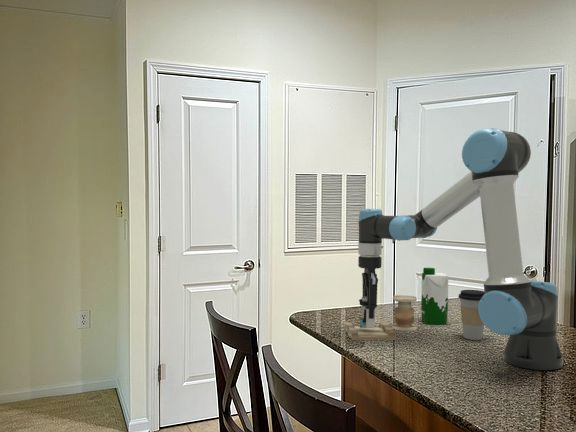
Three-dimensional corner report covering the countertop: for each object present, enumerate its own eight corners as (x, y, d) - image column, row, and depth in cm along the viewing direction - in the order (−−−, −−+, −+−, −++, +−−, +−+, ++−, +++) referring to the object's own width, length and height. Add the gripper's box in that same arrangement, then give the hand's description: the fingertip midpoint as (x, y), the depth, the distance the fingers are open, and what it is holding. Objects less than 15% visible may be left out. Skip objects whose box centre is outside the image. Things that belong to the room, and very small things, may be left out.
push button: (378, 325, 184) (379, 296, 183) (379, 329, 178) (379, 299, 178) (358, 324, 185) (359, 295, 184) (358, 328, 179) (358, 298, 179)
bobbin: (420, 331, 186) (421, 299, 186) (394, 331, 186) (395, 299, 185) (413, 325, 195) (413, 294, 195) (388, 325, 195) (388, 294, 194)
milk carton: (419, 320, 203) (419, 266, 202) (443, 320, 203) (444, 266, 202) (424, 326, 194) (425, 269, 194) (450, 326, 194) (451, 270, 193)
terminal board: (395, 340, 175) (395, 331, 175) (351, 340, 174) (351, 332, 174) (384, 329, 189) (385, 321, 189) (344, 329, 188) (344, 322, 188)
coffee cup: (490, 342, 173) (491, 294, 173) (459, 340, 175) (459, 293, 175) (485, 334, 183) (486, 289, 182) (456, 333, 184) (456, 288, 184)
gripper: (387, 258, 173) (386, 332, 174) (375, 253, 189) (374, 320, 190) (363, 258, 172) (362, 332, 173) (354, 253, 189) (353, 320, 190)
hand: (369, 326), depth 182 cm, fingers closed on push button, 3 cm apart
